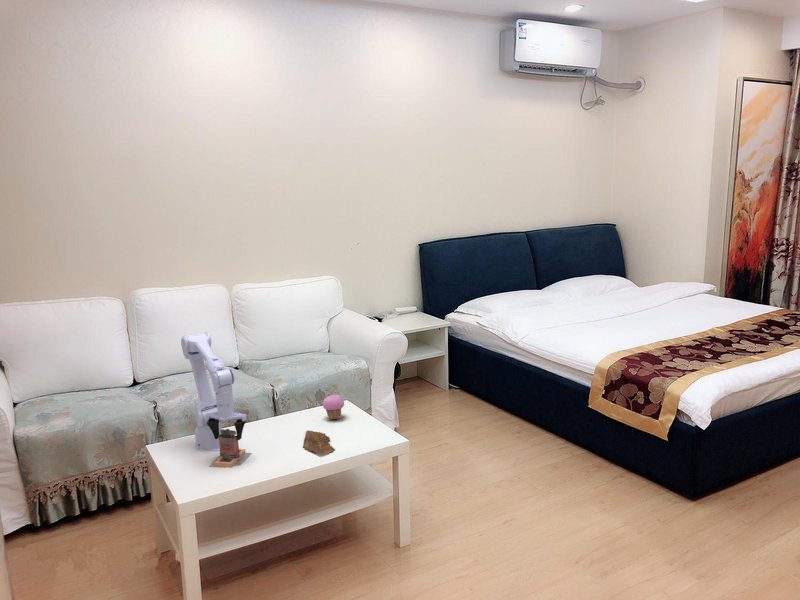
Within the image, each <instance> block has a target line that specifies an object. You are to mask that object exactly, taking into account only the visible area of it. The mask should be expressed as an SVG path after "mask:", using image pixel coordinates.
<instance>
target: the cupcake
mask: <svg viewBox="0 0 800 600" xmlns="http://www.w3.org/2000/svg"><path fill="white" fill-rule="evenodd" d="M344 406H345V400H344V398H343V397H341V396H340V394H331V395H328V396H327V397H326V398H324V399H323V401H322V407H323V408H324V410H325V411H326V414H327V417H328V419H329V420H339V419H340V417H341V416H342V408H343V407H344Z"/></svg>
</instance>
